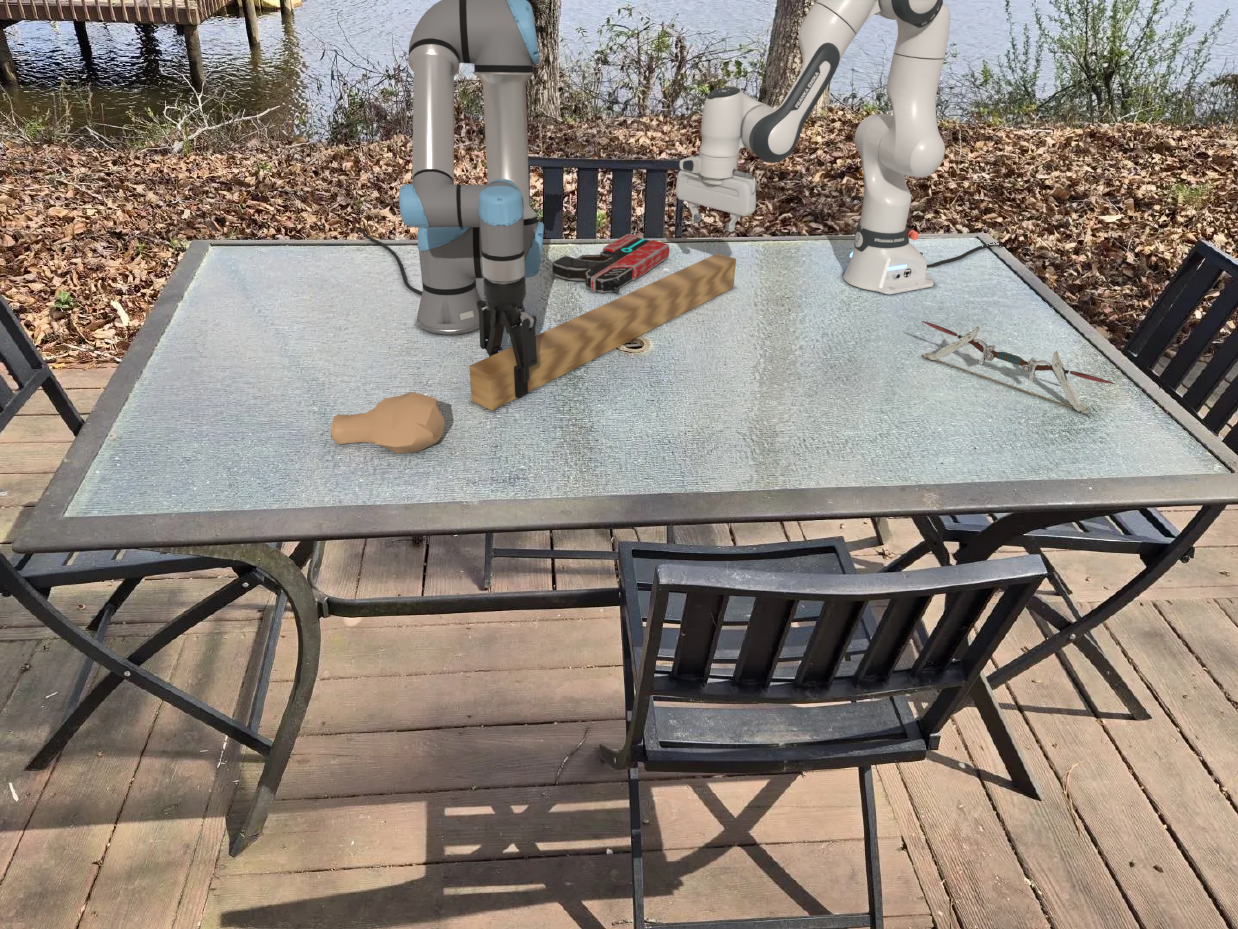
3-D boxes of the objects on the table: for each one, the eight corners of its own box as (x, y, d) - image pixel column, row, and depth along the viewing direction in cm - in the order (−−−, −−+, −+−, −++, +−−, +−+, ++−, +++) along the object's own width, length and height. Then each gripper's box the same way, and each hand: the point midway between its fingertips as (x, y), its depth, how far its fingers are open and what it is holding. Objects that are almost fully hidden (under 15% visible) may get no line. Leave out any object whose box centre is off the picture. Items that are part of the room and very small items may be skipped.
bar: (491, 411, 165) (489, 375, 160) (471, 401, 168) (468, 365, 163) (733, 287, 218) (736, 258, 213) (714, 282, 220) (717, 252, 216)
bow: (1102, 416, 168) (1120, 369, 163) (1099, 419, 167) (1116, 372, 162) (916, 351, 190) (927, 308, 184) (912, 354, 189) (923, 311, 183)
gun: (545, 262, 216) (612, 281, 208) (611, 226, 238) (673, 242, 230) (545, 280, 218) (612, 299, 211) (610, 242, 240) (672, 258, 233)
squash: (445, 460, 150) (431, 421, 144) (332, 469, 152) (314, 430, 146) (454, 419, 158) (441, 380, 152) (346, 428, 160) (330, 389, 154)
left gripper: (556, 284, 155) (558, 398, 168) (484, 258, 165) (491, 368, 178) (526, 296, 150) (530, 413, 163) (453, 269, 160) (463, 381, 173)
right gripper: (764, 172, 194) (757, 233, 201) (689, 154, 204) (686, 213, 212) (749, 177, 190) (742, 239, 197) (673, 159, 200) (670, 219, 208)
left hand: (510, 389), depth 171 cm, fingers closed on bar, 6 cm apart
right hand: (712, 226), depth 205 cm, fingers open, 8 cm apart
